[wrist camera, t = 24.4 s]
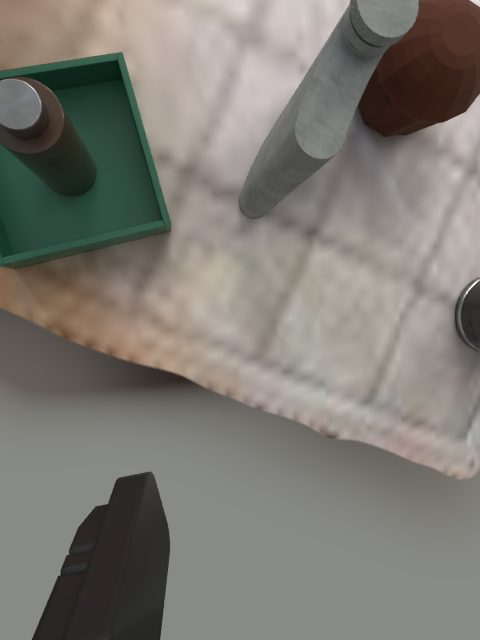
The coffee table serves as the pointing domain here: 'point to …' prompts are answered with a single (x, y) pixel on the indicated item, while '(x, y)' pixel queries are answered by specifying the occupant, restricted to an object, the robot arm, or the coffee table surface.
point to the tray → (111, 170)
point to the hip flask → (325, 101)
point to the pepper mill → (44, 136)
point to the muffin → (426, 70)
